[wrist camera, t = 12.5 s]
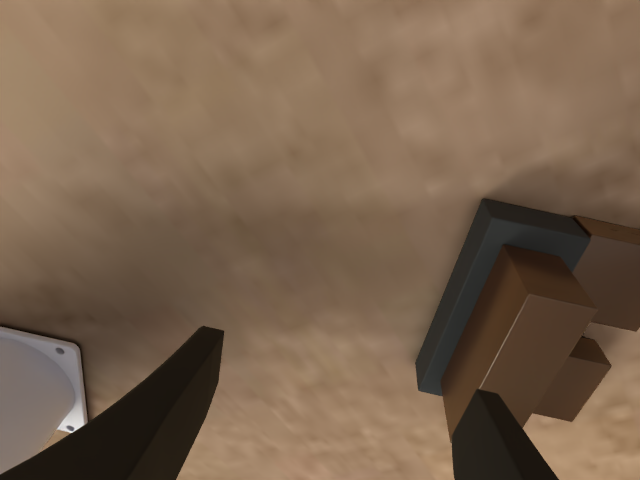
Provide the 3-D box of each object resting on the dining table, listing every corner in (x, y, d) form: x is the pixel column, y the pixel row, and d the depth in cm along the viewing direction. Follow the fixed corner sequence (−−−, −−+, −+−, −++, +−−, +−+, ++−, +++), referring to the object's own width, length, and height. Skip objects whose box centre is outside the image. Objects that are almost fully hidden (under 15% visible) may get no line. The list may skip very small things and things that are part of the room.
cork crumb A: (487, 378, 24) (495, 405, 22) (517, 322, 22) (527, 347, 20) (559, 394, 24) (572, 422, 22) (595, 340, 22) (612, 365, 20)
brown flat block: (534, 289, 21) (547, 312, 19) (573, 214, 19) (591, 234, 17) (616, 307, 21) (636, 332, 19) (664, 235, 19) (691, 256, 17)
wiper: (414, 362, 24) (424, 453, 19) (482, 197, 19) (517, 263, 14) (486, 379, 24) (514, 474, 19) (572, 217, 19) (639, 290, 14)
